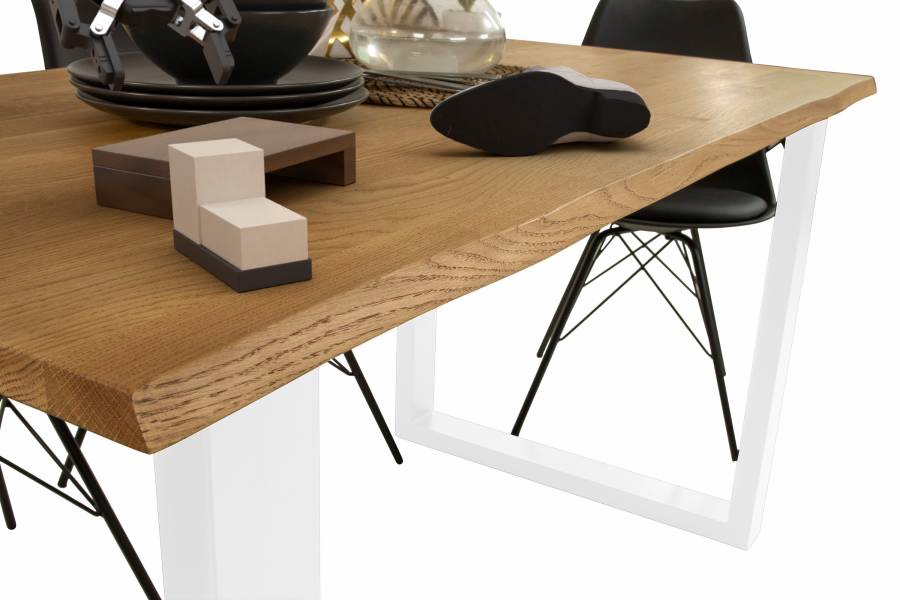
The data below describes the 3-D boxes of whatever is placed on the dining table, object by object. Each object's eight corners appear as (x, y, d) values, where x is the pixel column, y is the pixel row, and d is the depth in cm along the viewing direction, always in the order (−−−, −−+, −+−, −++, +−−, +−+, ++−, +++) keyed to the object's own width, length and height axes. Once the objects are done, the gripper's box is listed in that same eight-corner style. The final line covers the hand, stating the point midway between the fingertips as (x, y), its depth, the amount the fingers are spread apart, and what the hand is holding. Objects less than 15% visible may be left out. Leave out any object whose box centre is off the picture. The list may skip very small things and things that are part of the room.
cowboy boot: (672, 82, 114) (587, 58, 137) (439, 63, 106) (389, 41, 129) (658, 164, 117) (577, 127, 140) (430, 152, 109) (383, 115, 132)
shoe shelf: (356, 182, 99) (355, 131, 97) (219, 229, 82) (216, 168, 81) (244, 164, 105) (242, 116, 103) (96, 204, 89) (90, 148, 87)
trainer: (312, 279, 71) (310, 167, 68) (238, 292, 68) (232, 176, 65) (241, 237, 80) (236, 137, 78) (173, 247, 77) (166, 144, 74)
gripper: (27, -116, 77) (88, 54, 72) (205, -108, 84) (270, 46, 80) (18, -45, 82) (74, 117, 78) (185, -43, 90) (245, 104, 85)
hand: (173, 81), depth 79 cm, fingers open, 8 cm apart
